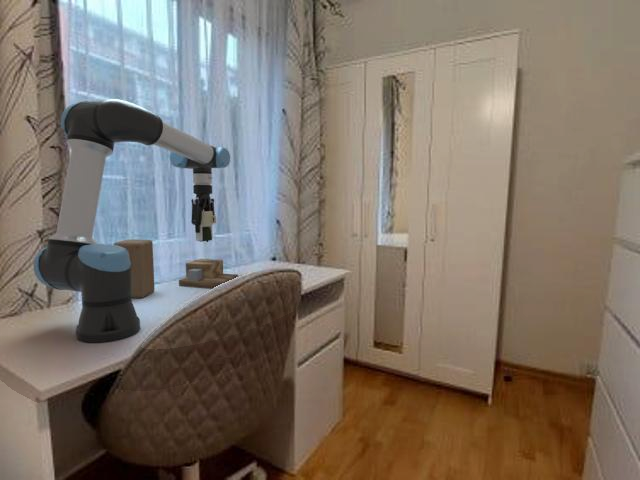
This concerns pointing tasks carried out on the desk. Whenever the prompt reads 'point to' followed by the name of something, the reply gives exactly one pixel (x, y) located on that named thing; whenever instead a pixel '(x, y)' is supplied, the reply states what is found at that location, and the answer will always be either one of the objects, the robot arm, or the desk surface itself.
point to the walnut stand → (207, 274)
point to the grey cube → (195, 274)
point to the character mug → (207, 224)
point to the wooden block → (140, 266)
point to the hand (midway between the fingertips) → (204, 239)
